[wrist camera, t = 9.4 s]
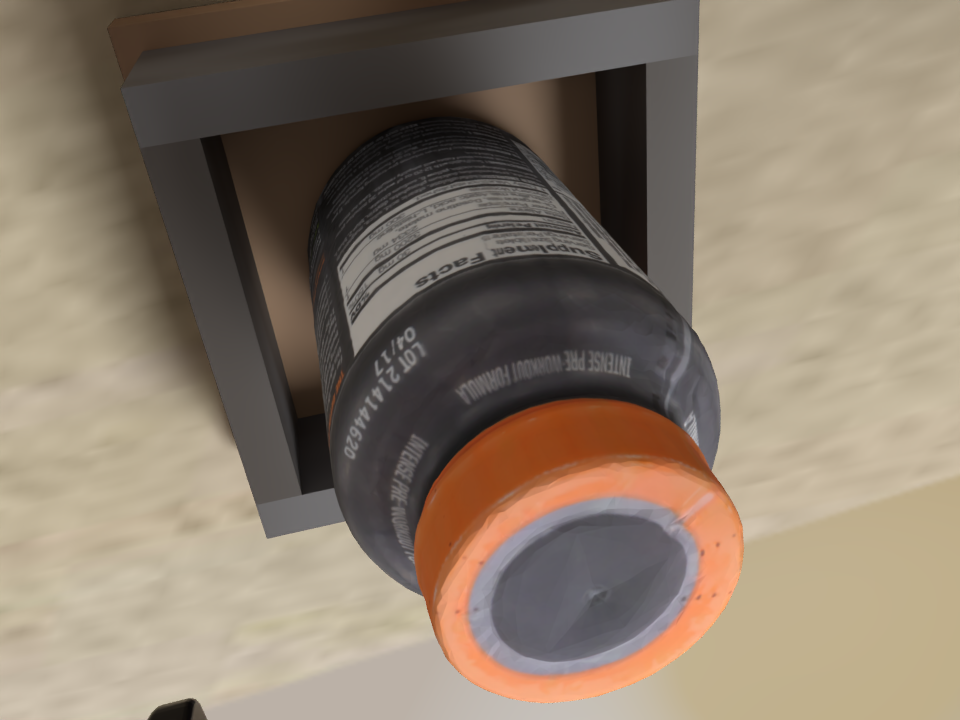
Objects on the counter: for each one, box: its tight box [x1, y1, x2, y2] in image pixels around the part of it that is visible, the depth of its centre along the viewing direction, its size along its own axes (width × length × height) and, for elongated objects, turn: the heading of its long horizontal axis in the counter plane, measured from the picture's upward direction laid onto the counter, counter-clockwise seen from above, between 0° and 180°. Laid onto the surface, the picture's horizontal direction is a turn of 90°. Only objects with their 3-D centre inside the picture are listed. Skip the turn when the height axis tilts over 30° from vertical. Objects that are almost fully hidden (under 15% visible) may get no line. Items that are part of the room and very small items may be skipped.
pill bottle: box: [307, 116, 744, 703], centre depth 15 cm, size 6×6×11 cm
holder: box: [107, 0, 700, 539], centre depth 19 cm, size 11×11×4 cm
